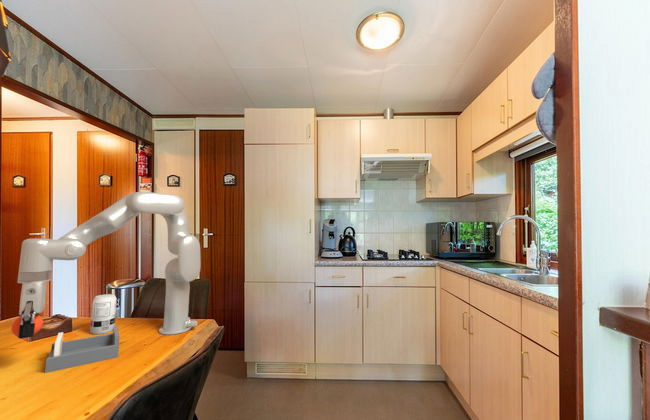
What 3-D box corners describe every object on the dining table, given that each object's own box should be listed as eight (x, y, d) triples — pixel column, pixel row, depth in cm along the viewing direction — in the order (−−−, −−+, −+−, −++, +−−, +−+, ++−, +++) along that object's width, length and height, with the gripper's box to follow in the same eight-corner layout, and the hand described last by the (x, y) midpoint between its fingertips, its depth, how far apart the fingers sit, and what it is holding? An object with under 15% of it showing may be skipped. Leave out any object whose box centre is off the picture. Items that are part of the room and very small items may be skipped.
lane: (115, 343, 108) (117, 325, 108) (118, 357, 96) (119, 336, 97) (51, 355, 96) (52, 335, 97) (45, 372, 85) (47, 349, 85)
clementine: (28, 331, 92) (31, 309, 93) (51, 331, 93) (53, 309, 93) (2, 340, 84) (5, 316, 85) (27, 340, 85) (30, 316, 85)
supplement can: (85, 333, 117) (88, 297, 118) (105, 327, 125) (108, 293, 126) (98, 335, 115) (101, 298, 116) (118, 329, 123) (121, 294, 124)
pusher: (61, 351, 97) (63, 332, 98) (58, 364, 88) (60, 342, 88) (56, 352, 96) (58, 332, 97) (52, 365, 87) (54, 343, 88)
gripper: (47, 279, 85) (41, 339, 84) (54, 272, 99) (48, 324, 97) (11, 281, 81) (3, 345, 79) (23, 274, 94) (16, 328, 93)
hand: (28, 333), depth 88 cm, fingers closed on clementine, 7 cm apart
